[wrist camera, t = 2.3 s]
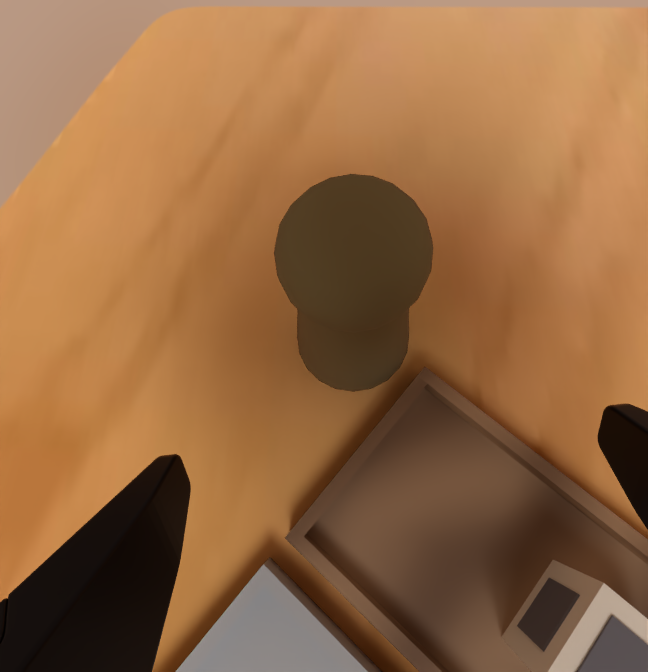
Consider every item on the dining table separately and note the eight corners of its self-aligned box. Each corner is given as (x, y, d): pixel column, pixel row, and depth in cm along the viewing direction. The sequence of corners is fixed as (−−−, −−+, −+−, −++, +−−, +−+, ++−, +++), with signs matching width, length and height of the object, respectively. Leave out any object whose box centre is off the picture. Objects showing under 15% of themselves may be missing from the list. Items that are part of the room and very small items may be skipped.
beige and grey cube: (636, 629, 18) (715, 674, 14) (585, 713, 17) (654, 787, 13) (551, 557, 19) (602, 581, 15) (499, 635, 18) (539, 681, 14)
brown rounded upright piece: (317, 273, 24) (290, 125, 14) (420, 300, 23) (477, 164, 13) (281, 372, 23) (221, 290, 12) (392, 406, 22) (429, 349, 11)
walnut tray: (701, 593, 18) (730, 603, 17) (574, 813, 17) (595, 845, 15) (420, 373, 22) (424, 366, 21) (289, 532, 20) (284, 537, 19)
